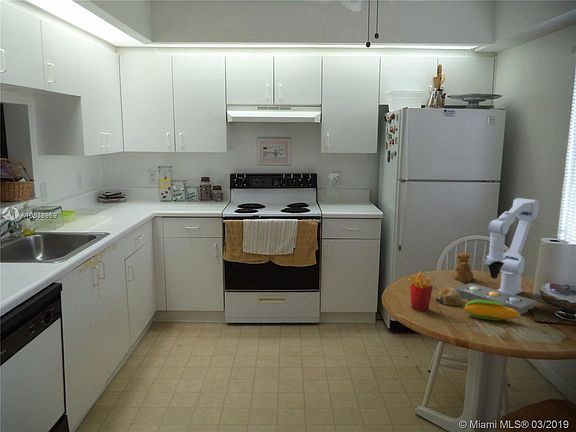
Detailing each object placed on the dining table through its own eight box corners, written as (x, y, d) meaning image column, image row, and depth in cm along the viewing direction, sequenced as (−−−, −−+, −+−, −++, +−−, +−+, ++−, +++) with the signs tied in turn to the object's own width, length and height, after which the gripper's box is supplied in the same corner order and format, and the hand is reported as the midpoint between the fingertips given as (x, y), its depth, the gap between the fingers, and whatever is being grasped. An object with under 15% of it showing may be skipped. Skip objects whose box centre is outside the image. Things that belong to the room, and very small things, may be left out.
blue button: (511, 303, 201) (512, 296, 201) (520, 305, 198) (521, 298, 198) (506, 305, 199) (507, 298, 198) (516, 307, 196) (517, 300, 195)
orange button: (491, 297, 208) (491, 290, 207) (500, 299, 205) (500, 293, 204) (486, 299, 205) (487, 292, 205) (495, 301, 202) (496, 295, 202)
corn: (465, 294, 191) (520, 300, 184) (464, 311, 192) (518, 318, 185) (465, 301, 184) (522, 308, 177) (463, 319, 186) (520, 327, 179)
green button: (472, 292, 215) (472, 285, 214) (480, 294, 212) (481, 288, 211) (467, 293, 212) (467, 287, 212) (475, 296, 209) (476, 289, 209)
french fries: (431, 309, 194) (434, 274, 192) (419, 313, 190) (421, 277, 187) (414, 303, 201) (416, 269, 199) (401, 307, 196) (403, 272, 194)
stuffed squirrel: (471, 276, 242) (473, 251, 239) (475, 284, 228) (478, 258, 226) (451, 275, 244) (453, 250, 242) (454, 283, 230) (456, 256, 228)
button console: (469, 289, 221) (470, 282, 221) (535, 307, 198) (536, 300, 198) (453, 295, 212) (453, 288, 212) (520, 315, 190) (521, 307, 189)
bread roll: (457, 314, 199) (467, 299, 197) (434, 303, 200) (444, 287, 198) (453, 306, 208) (463, 291, 207) (432, 295, 210) (441, 280, 208)
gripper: (496, 243, 213) (493, 273, 215) (479, 248, 203) (476, 278, 206) (511, 246, 207) (508, 276, 209) (495, 251, 198) (492, 282, 200)
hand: (494, 277), depth 207 cm, fingers closed
